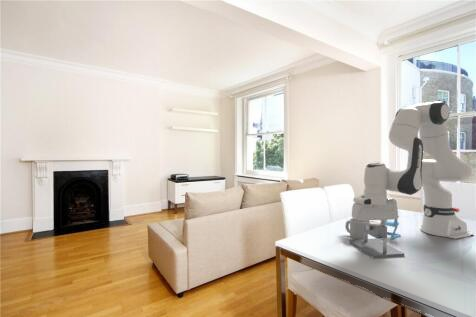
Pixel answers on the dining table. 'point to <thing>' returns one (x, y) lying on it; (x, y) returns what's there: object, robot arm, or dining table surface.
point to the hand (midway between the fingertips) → (374, 229)
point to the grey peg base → (376, 247)
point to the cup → (355, 228)
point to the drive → (376, 230)
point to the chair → (394, 224)
